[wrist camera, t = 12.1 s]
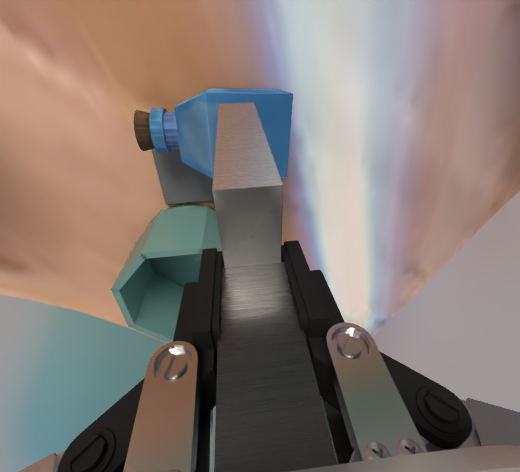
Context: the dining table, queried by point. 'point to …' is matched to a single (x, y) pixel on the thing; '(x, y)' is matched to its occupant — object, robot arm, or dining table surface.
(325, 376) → the robot arm
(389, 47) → the dining table surface
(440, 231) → the dining table surface
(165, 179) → the rubber mat
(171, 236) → the utensil pot
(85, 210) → the dining table surface
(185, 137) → the perfume bottle
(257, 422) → the brushed metal bar
